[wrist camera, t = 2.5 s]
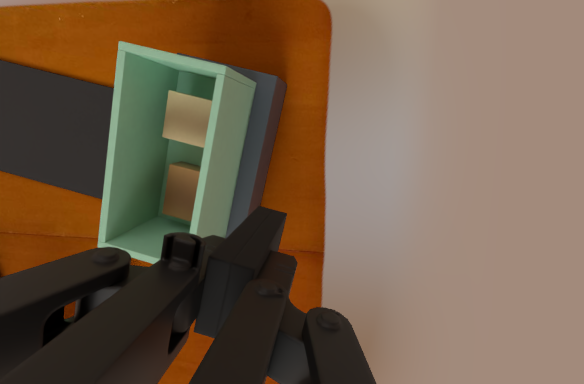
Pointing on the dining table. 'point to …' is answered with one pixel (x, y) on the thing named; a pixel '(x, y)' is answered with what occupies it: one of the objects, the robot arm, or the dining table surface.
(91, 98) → the mat
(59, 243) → the dining table surface
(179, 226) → the open box
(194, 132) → the beige square block
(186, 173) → the brown rectangular tile
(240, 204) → the block
